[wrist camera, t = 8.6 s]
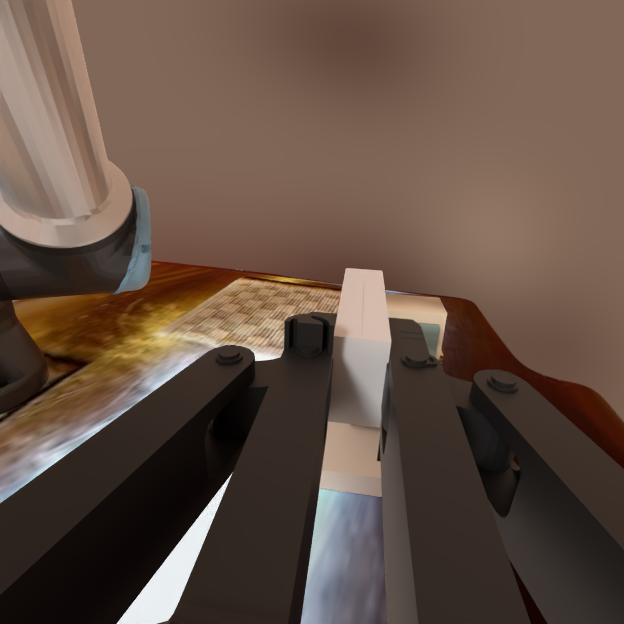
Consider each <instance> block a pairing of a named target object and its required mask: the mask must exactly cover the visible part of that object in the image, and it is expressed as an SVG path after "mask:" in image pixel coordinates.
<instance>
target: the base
mask: <svg viewBox="0 0 624 624" xmlns="http://www.w3.org/2000/svg"><path fill="white" fill-rule="evenodd" d="M380 433H381V429H380V428H371V427H363V426H354V425H351V424H346V423H337V422H329V421H328V426H327V436H326V444H325V451H324V458H323V465H322V472H321V480H320V487H319V489H326V490H333V491H341V492H348V493H355V494H363V495H370V496H378V497H382V486H381V462H380V461H377V455H378V448H379V440H380Z"/></svg>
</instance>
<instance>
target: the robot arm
mask: <svg viewBox="0 0 624 624" xmlns="http://www.w3.org/2000/svg"><path fill="white" fill-rule="evenodd" d="M150 246H151V221H150V209H149V201H148V197H147V194H146V192H145V191H144V190H143V189H142V188H139V187H135V186H133V185H129V182H128V180H127V178H126V177H125V175H124V174H123V172H122V171H121V170H120V169H119V168H117V166H115V165H114V164H113V163H112V162H110V161H109V160H107V155H106V151H105V147H104V143H103V138H102V134H101V129H100V125H99V120H98V116H97V112H96V107H95V103H94V99H93V95H92V90H91V85H90V81H89V77H88V73H87V68H86V64H85V59H84V56H83V50H82V46H81V42H80V37H79V33H78V28H77V25H76V20H75V15H74V11H73V7H72V3H71V0H0V413H2V412H4V411H6V410H8V409H10V408H12V407H14V406H16V405H18V404H20V403H22V402H23V401H25V400H27V399H28V398H30V397H31V396H32V395H34V394H35V393H36V392H37V391H39V390H40V389H41V388H42V387H43V385H44V384H45V383H46V381H47V379H48V375H49V372H48V368H47V364H46V360H45V357H44V355H43V353H42V351H41V350H40V349H39V347H38V346H37V345H36V343H35V342H34V340H33V339H32V338H31V336H30V335H29V334H28V332H27V331H26V329H25V328H24V327H23V325H22V324H21V323H20V321H19V320H18V318H17V316H16V314H15V310H14V307H13V303H12V300H22V299H33V298H46V297H60V296H73V295H86V294H100V293H109V294H118V293H119V292H123V291H131V290H138V289H141V288H142V287H144V286H145V285H146V284H147V282H148V280H149V277H150V270H151V248H150ZM381 417H382V425H381V433H380V440H379V448H378V455H377V461H380V462H381V486H382V512H383V537H384V563H385V589H386V615H387V624H531V622H530V620H529V617H528V614H527V611H526V608H525V605H524V602H523V599H522V596H521V593H520V591H519V588H518V585H517V582H516V579H515V576H514V573H513V570H512V567H511V564H510V561H511V563H512V564H513V566H514V568H515V569H516V571H517V573H518V574H519V576H520V578H521V580H522V581H523V583H524V585H525V586H526V588H527V590H528V591H529V593H530V595H531V596H532V598H533V600H534V601H535V603H536V605H537V607H538V608H539V610H540V612H541V613H542V615H543V617H544V618H545V620H546V622H547V623H548V624H624V469H623V468H622V467H621V466H620V465H618V464H617V463H616V462H615V461H614V460H613V459H612V458H611V457H610V456H608V455H607V454H606V453H605V452H604V451H603V450H602V449H601V448H600V447H598V446H597V445H596V444H595V443H594V442H593V441H592V440H591V439H590V438H588V437H587V436H586V435H585V434H584V433H583V432H582V431H581V430H580V429H578V428H577V427H576V426H575V425H574V424H573V423H572V422H571V421H570V420H568V419H567V418H566V417H565V416H564V415H563V414H562V413H561V412H560V411H558V410H557V409H556V408H555V407H554V406H553V405H552V404H551V403H550V402H548V401H547V400H546V399H545V398H544V397H543V396H542V395H541V394H540V393H538V392H537V391H536V390H535V389H534V388H533V387H532V386H531V385H530V384H528V383H527V382H526V381H524V380H523V379H521V378H520V377H517V376H515V375H513V374H511V373H509V372H506V371H504V372H503V371H502V370H482V371H479V372H477V373H475V375H474V379H473V383H472V382H468V381H464V380H461V379H457V378H454V377H451V376H449V375H447V374H445V373H444V370H443V367H442V364H441V363H440V361H439V360H438V359H437V358H435V357H434V356H432V355H430V354H429V350H428V347H427V344H426V341H425V337H424V335H423V331H422V328H421V326H420V325H419V324H418V323H417V322H415V321H414V320H412V319H401V318H389V317H388V311H387V303H386V295H385V287H384V280H383V272H382V271H378V270H365V269H351V268H346V271H345V276H344V281H343V287H342V292H341V297H340V303H339V308H338V314H332V313H321V312H310V313H309V314H299V315H294V316H291V317H289V318H287V319H286V320H285V335H284V351H283V353H282V356H281V357H280V358H277V359H273V360H266V361H255V356H254V353H253V352H252V351H251V350H250V349H248V348H245V347H242V346H236V345H230V346H229V345H225V346H222V347H218V348H214V349H212V350H210V351H209V352H207V353H206V354H204V355H203V356H201V357H200V358H199V359H197V360H196V361H195V362H193V363H192V364H190V365H189V366H188V367H186V368H185V369H184V370H182V371H181V372H180V373H178V374H177V375H175V376H174V377H173V378H171V379H170V380H169V381H167V382H166V383H164V384H163V385H162V386H160V387H159V388H158V389H156V390H155V391H154V392H152V393H151V394H149V395H148V396H147V397H145V398H144V399H143V400H141V401H140V402H138V403H137V404H136V405H134V406H133V407H132V408H130V409H129V410H127V411H126V412H125V413H123V414H122V415H121V416H119V417H118V418H117V419H115V420H114V421H112V422H111V423H110V424H108V425H107V426H106V427H104V428H103V429H101V430H100V431H99V432H97V433H96V434H95V435H93V436H92V437H91V438H89V439H88V440H86V441H85V442H84V443H82V444H81V445H80V446H78V447H77V448H75V449H74V450H73V451H71V452H70V453H69V454H67V455H66V456H65V457H63V458H62V459H60V460H59V461H58V462H56V463H55V464H54V465H52V466H51V467H49V468H48V469H47V470H45V471H44V472H43V473H41V474H40V475H39V476H37V477H36V478H34V479H33V480H32V481H30V482H29V483H28V484H26V485H25V486H23V487H22V488H21V489H19V490H18V491H17V492H15V493H14V494H13V495H11V496H10V497H8V498H7V499H6V500H4V501H3V502H2V503H0V624H117V622H118V621H119V620H120V618H121V617H122V616H123V614H124V613H125V612H126V611H127V609H128V608H129V607H130V605H131V604H132V603H133V601H134V600H135V599H136V598H137V596H138V595H139V594H140V592H141V591H142V590H143V588H144V587H145V586H146V584H147V583H148V582H149V581H150V579H151V578H152V577H153V575H154V574H155V573H156V571H157V570H158V569H159V568H160V566H161V565H162V564H163V562H164V561H165V560H166V558H167V557H168V556H169V555H170V553H171V552H172V551H173V549H174V548H175V547H176V545H177V544H178V543H179V541H180V540H181V539H182V538H183V536H184V535H185V534H186V532H187V531H188V530H189V528H190V527H191V526H192V525H193V523H194V522H195V521H196V519H197V518H198V517H199V515H200V514H201V513H202V511H203V510H204V509H205V508H206V506H207V505H208V504H209V502H210V501H211V500H212V498H213V497H214V496H215V495H216V493H217V492H218V491H219V489H220V488H221V487H222V485H223V484H224V483H225V482H226V480H227V479H228V478H229V476H230V475H231V474H232V476H231V478H230V481H229V483H228V485H227V488H226V490H225V493H224V495H223V497H222V500H221V502H220V505H219V507H218V509H217V512H216V514H215V517H214V519H213V521H212V524H211V526H210V529H209V531H208V533H207V536H206V538H205V541H204V543H203V546H202V548H201V550H200V553H199V555H198V558H197V560H196V562H195V565H194V567H193V570H192V572H191V574H190V577H189V579H188V582H187V584H186V586H185V589H184V591H183V594H182V596H181V598H180V601H179V603H178V605H177V607H176V609H175V611H174V613H173V615H172V616H171V618H170V619H169V620H168V621H165V622H162V623H158V624H300V623H301V616H302V609H303V602H304V594H305V587H306V580H307V573H308V566H309V559H310V551H311V544H312V537H313V530H314V523H315V515H316V508H317V501H318V494H319V487H320V480H321V472H322V465H323V458H324V451H325V444H326V436H327V426H328V421H329V422H337V423H346V424H354V425H363V426H371V427H380V423H381ZM514 454H515V455H516V457H517V459H518V462H519V465H520V467H519V466H518V465H517V464H516V463H515V462H514V460H513V458H514ZM232 472H233V473H232ZM508 558H509V559H510V561H509V559H508Z"/></svg>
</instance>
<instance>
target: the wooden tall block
mask: <svg viewBox="0 0 624 624" xmlns="http://www.w3.org/2000/svg"><path fill="white" fill-rule="evenodd" d="M385 295H386V303H387V311H388V317H389V318H401V319H412V320H414V321H415V322H417V323H418V324H419V325H420V326H421V328H422V331H423V335H424V337H425V341H426V344H427V347H428V350H429V354H430V355H432V356H434V357H435V358H437V359H438V360H439V358H440V352H441V346H442V340H443V334H444V329H445V323H446V317H447V312H446V310H445V308H444V306H443V304H442V302H441V300H440V298H434V297H421V296H408V295H395V294H385ZM351 425H354V424H351ZM381 425H382V417H381V423H380V427H371V426H363V425H354V426H363V427H371V428H380V429H381Z"/></svg>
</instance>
